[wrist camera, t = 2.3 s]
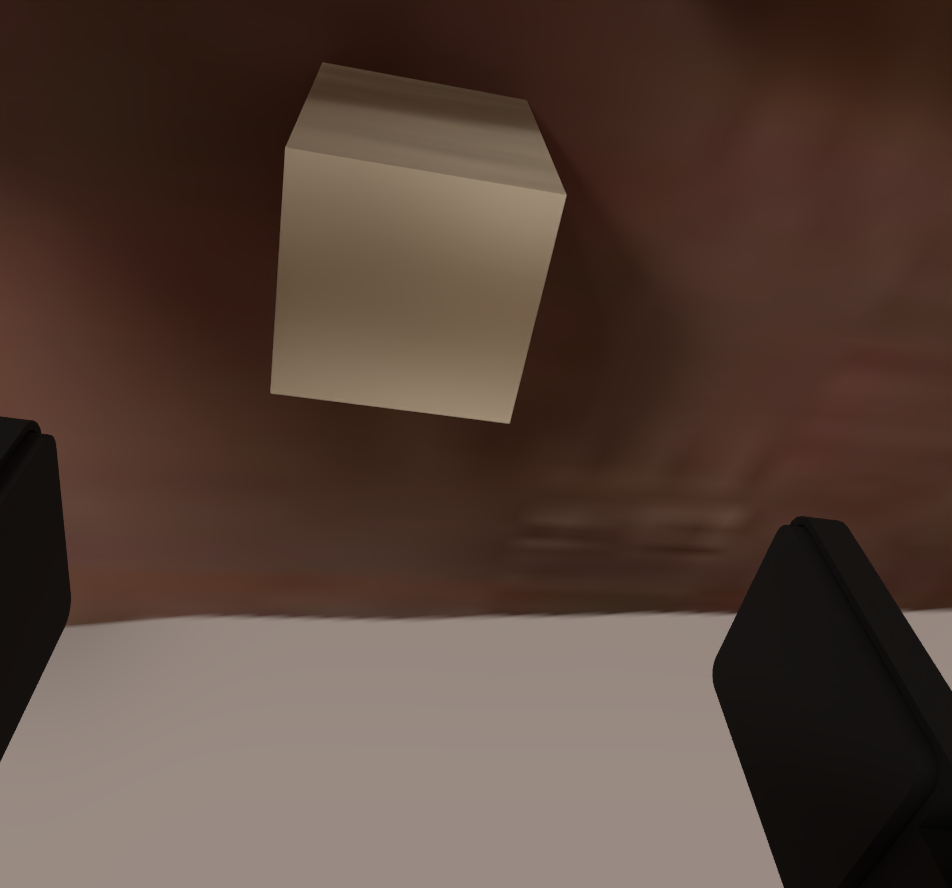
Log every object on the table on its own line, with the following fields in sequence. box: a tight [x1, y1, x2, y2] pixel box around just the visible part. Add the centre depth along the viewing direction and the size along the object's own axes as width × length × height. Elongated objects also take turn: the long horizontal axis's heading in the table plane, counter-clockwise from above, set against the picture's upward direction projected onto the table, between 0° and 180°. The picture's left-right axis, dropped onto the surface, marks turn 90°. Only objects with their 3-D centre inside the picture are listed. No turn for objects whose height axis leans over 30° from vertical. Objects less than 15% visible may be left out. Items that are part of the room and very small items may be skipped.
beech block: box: [270, 62, 567, 424], centre depth 19 cm, size 5×5×7 cm
